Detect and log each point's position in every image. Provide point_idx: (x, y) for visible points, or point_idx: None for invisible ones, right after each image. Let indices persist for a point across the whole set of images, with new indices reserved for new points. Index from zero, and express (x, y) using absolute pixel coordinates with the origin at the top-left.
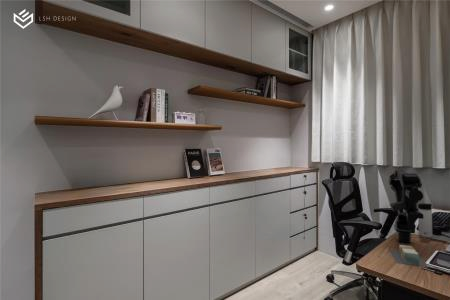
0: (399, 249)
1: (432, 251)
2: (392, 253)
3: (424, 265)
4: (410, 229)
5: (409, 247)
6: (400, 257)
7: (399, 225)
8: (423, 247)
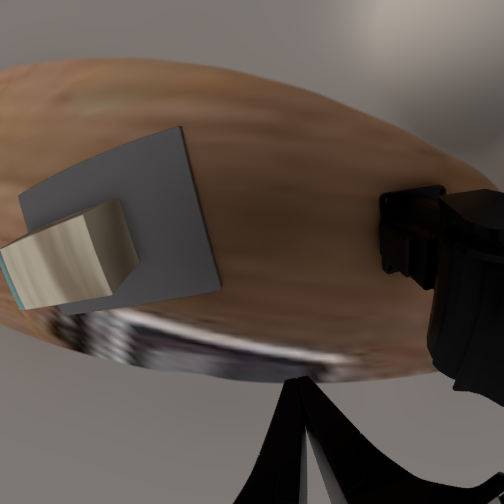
0: (101, 205)
1: (319, 347)
2: (118, 157)
3: (70, 302)
4: (429, 322)
5: (77, 279)
6: (85, 204)
7: (453, 250)
8: (366, 315)
